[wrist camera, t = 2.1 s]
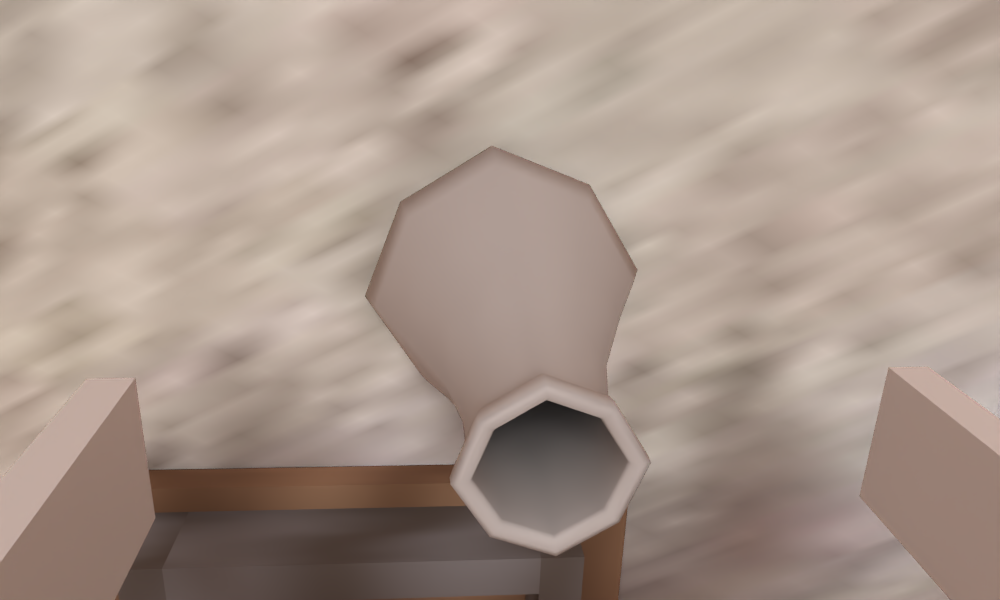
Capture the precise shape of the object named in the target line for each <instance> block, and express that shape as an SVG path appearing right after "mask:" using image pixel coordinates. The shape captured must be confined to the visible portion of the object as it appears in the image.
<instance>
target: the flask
mask: <svg viewBox="0 0 1000 600" xmlns="http://www.w3.org/2000/svg"><path fill="white" fill-rule="evenodd" d="M636 272H637V268H636V267H635V265H634V263H633V261H632V260H631V258H630V256H629V254H628V252H627V251H626V249H625V247H624V245H623V243H622V242H621V240H620V238H619V236H618V235H617V233H616V231H615V229H614V227H613V226H612V224H611V222H610V220H609V219H608V217H607V215H606V213H605V211H604V210H603V208H602V206H601V204H600V203H599V201H598V199H597V197H596V195H595V194H594V192H593V190H592V188H591V186H590V185H589V184H586V183H584V182H581V181H579V180H576V179H574V178H571V177H569V176H566V175H564V174H561V173H559V172H556V171H554V170H551V169H549V168H546V167H544V166H541V165H539V164H536V163H534V162H531V161H529V160H526V159H524V158H521V157H519V156H516V155H514V154H511V153H509V152H506V151H504V150H501V149H499V148H496V147H494V146H491V147H489V148H487V149H486V150H484V151H483V152H481V153H479V154H478V155H476V156H474V157H473V158H471V159H469V160H468V161H466V162H465V163H463V164H461V165H460V166H458V167H456V168H455V169H453V170H452V171H450V172H448V173H447V174H445V175H443V176H442V177H440V178H439V179H437V180H435V181H434V182H432V183H430V184H429V185H427V186H425V187H424V188H422V189H421V190H419V191H417V192H416V193H414V194H412V195H411V196H409V197H408V198H406V199H404V200H403V201H401V202H400V204H399V207H398V209H397V212H396V215H395V217H394V220H393V223H392V225H391V228H390V231H389V233H388V236H387V239H386V241H385V244H384V247H383V249H382V252H381V255H380V257H379V260H378V263H377V265H376V268H375V271H374V273H373V276H372V279H371V281H370V284H369V287H368V289H367V292H366V295H365V297H366V298H367V299H368V301H369V302H370V304H371V305H372V306H373V308H374V309H375V311H376V312H377V313H378V315H379V316H380V318H381V319H382V320H383V322H384V323H385V325H386V326H387V327H388V329H389V330H390V332H391V333H392V334H393V336H394V337H395V339H396V340H397V341H398V343H399V344H400V346H401V347H402V348H403V350H404V351H405V353H406V354H407V355H408V357H409V358H410V360H411V361H412V362H413V364H414V365H415V367H416V368H417V369H418V371H419V372H420V373H421V375H422V376H423V377H424V378H425V379H426V380H427V381H428V382H429V383H431V384H432V385H433V386H434V387H435V388H437V389H438V390H439V391H440V392H441V393H443V394H444V395H445V396H446V397H447V398H449V399H450V400H451V402H452V403H453V404H454V405H455V406H456V408H457V411H458V413H459V415H460V417H461V419H462V421H463V426H464V435H465V442H464V445H463V447H462V449H461V451H460V454H459V456H458V458H457V460H456V463H455V465H454V467H453V469H452V472H451V475H450V484H451V486H452V487H453V489H454V490H455V491H456V493H457V494H458V495H459V497H460V498H461V499H462V501H463V502H464V503H465V505H466V506H467V507H468V509H469V510H470V511H471V513H472V514H473V515H474V517H475V518H476V519H477V521H478V522H479V523H480V525H481V526H482V527H483V529H484V530H485V531H486V533H487V534H488V535H489V537H492V538H495V539H498V540H502V541H505V542H509V543H512V544H516V545H519V546H522V547H526V548H529V549H533V550H536V551H540V552H543V553H546V554H550V555H553V556H558V555H560V554H561V553H563V552H565V551H567V550H569V549H571V548H572V547H574V546H576V545H578V544H580V543H582V542H584V541H585V540H587V539H589V538H591V537H593V536H595V535H597V534H598V533H600V532H602V531H604V530H606V529H608V528H610V527H611V526H613V525H615V524H617V523H619V522H620V520H621V518H622V516H623V514H624V512H625V510H626V508H627V507H628V505H629V503H630V501H631V499H632V497H633V495H634V493H635V492H636V490H637V488H638V486H639V484H640V482H641V480H642V478H643V477H644V475H645V473H646V471H647V469H648V467H649V465H650V463H651V462H650V459H649V457H648V455H647V453H646V451H645V450H644V448H643V447H642V445H641V443H640V442H639V440H638V438H637V437H636V435H635V434H634V432H633V430H632V429H631V427H630V425H629V424H628V422H627V421H626V419H625V417H624V416H623V414H622V412H621V411H620V409H619V408H618V406H617V404H616V403H615V401H614V400H613V399H612V398H611V397H609V396H608V386H607V368H606V365H607V362H608V358H609V355H610V351H611V348H612V344H613V341H614V337H615V334H616V330H617V327H618V323H619V320H620V316H621V314H622V311H623V308H624V306H625V303H626V301H627V298H628V295H629V293H630V290H631V288H632V285H633V282H634V279H635V276H636Z"/></svg>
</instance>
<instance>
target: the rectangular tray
mask: <svg viewBox="0 0 1000 600" xmlns="http://www.w3.org/2000/svg"><path fill="white" fill-rule="evenodd" d="M453 467H454V465H416V466H359V467H302V468H244V469H187V470H149V477H150V484H151V491H152V498H153V505H154V512H155V520H154V522H153V524H152V526H151V528H150V530H149V532H148V534H147V536H146V538H145V540H144V542H143V544H142V546H141V548H140V550H139V552H138V554H137V556H136V558H135V560H134V562H133V564H132V566H131V568H130V570H129V572H128V574H127V576H126V578H125V580H124V582H123V584H122V586H121V588H120V590H119V592H118V594H117V596H116V598H115V600H618V595H619V585H620V575H621V566H622V556H623V546H624V536H625V526H626V517H627V508H626V510H625V512H624V514H623V516H622V518H621V520H620V522H619V523H617V524H615V525H613V526H611V527H610V528H608V529H606V530H604V531H602V532H600V533H598V534H597V535H595V536H593V537H591V538H589V539H587V540H585V541H584V542H582V543H580V544H578V545H576V546H574V547H572V548H571V549H569V550H567V551H565V552H563V553H561V554H560V555H558V556H553V555H550V554H546V553H543V552H540V551H536V550H533V549H529V548H526V547H522V546H519V545H516V544H512V543H509V542H505V541H502V540H498V539H495V538H492V537H489V535H488V534H487V533H486V531H485V530H484V529H483V527H482V526H481V525H480V523H479V522H478V521H477V519H476V518H475V517H474V515H473V514H472V513H471V511H470V510H469V509H468V507H467V506H466V505H465V503H464V502H463V501H462V499H461V498H460V497H459V495H458V494H457V493H456V491H455V490H454V489H453V487H452V486H451V484H450V475H451V472H452V469H453Z"/></svg>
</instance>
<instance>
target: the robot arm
mask: <svg viewBox="0 0 1000 600" xmlns="http://www.w3.org/2000/svg"><path fill="white" fill-rule="evenodd" d="M860 497H861V498H862V500H863V501H864V502H865V503H866V504H867V505H868V506H869V508H870V509H871V510H872V511H873V512H874V513H875V514H876V515H877V517H878V518H879V519H880V520H881V521H882V522H883V523H884V525H885V526H886V527H887V528H888V529H889V530H890V531H891V533H892V534H893V535H894V536H895V537H896V538H897V539H898V541H899V542H900V543H901V544H902V545H903V546H904V547H905V548H906V550H907V551H908V552H909V553H910V554H911V555H912V556H913V558H914V559H915V560H916V561H917V562H918V563H919V564H920V566H921V567H922V568H923V569H924V570H925V571H926V572H927V573H928V575H929V576H930V577H931V578H932V579H933V580H934V581H935V583H936V584H937V585H938V586H939V587H940V588H941V589H942V591H943V592H944V593H945V594H946V595H947V596H948V597H949V598H950V600H1000V419H999V418H998V417H996V416H995V415H993V414H992V413H991V412H989V411H988V410H987V409H985V408H984V407H983V406H981V405H980V404H978V403H977V402H976V401H974V400H973V399H972V398H970V397H969V396H967V395H966V394H965V393H963V392H962V391H961V390H959V389H958V388H957V387H955V386H954V385H952V384H951V383H950V382H948V381H947V380H946V379H944V378H943V377H942V376H940V375H939V374H937V373H936V372H935V371H933V370H932V369H931V368H929V367H889V368H888V372H887V377H886V381H885V386H884V390H883V394H882V399H881V403H880V408H879V412H878V417H877V421H876V425H875V430H874V434H873V439H872V443H871V448H870V452H869V457H868V461H867V465H866V470H865V474H864V479H863V483H862V488H861V492H860ZM154 520H155V512H154V505H153V498H152V491H151V484H150V477H149V470H148V463H147V456H146V449H145V442H144V435H143V428H142V422H141V415H140V408H139V401H138V394H137V387H136V380H135V378H97V379H86V380H85V381H84V382H83V383H82V385H81V386H80V387H79V388H78V389H77V390H76V392H75V393H74V394H73V395H72V396H71V397H70V399H69V400H68V401H67V402H66V403H65V404H64V406H63V407H62V408H61V409H60V410H59V411H58V413H57V414H56V415H55V416H54V417H53V418H52V420H51V421H50V422H49V423H48V424H47V425H46V427H45V428H44V429H43V430H42V431H41V432H40V434H39V435H38V436H37V437H36V438H35V439H34V441H33V442H32V443H31V444H30V445H29V446H28V448H27V449H26V450H25V451H24V452H23V453H22V455H21V456H20V457H19V458H18V459H17V460H16V462H15V463H14V464H13V465H12V466H11V467H10V469H9V470H8V471H7V472H6V473H5V475H4V476H3V477H2V478H1V479H0V600H115V598H116V596H117V594H118V592H119V590H120V588H121V586H122V584H123V582H124V580H125V578H126V576H127V574H128V572H129V570H130V568H131V566H132V564H133V562H134V560H135V558H136V556H137V554H138V552H139V550H140V548H141V546H142V544H143V542H144V540H145V538H146V536H147V534H148V532H149V530H150V528H151V526H152V524H153V522H154Z"/></svg>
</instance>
